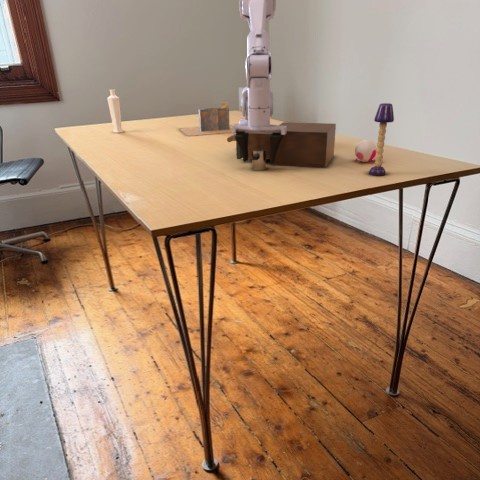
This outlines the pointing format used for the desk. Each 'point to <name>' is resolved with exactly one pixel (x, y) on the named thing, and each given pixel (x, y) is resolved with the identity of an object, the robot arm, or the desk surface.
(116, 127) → the perfume bottle
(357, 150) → the stress ball
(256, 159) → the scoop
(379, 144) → the toy lamp
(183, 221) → the desk surface
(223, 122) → the architectural model on board
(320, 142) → the cabinet
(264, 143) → the drawer
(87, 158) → the desk surface
